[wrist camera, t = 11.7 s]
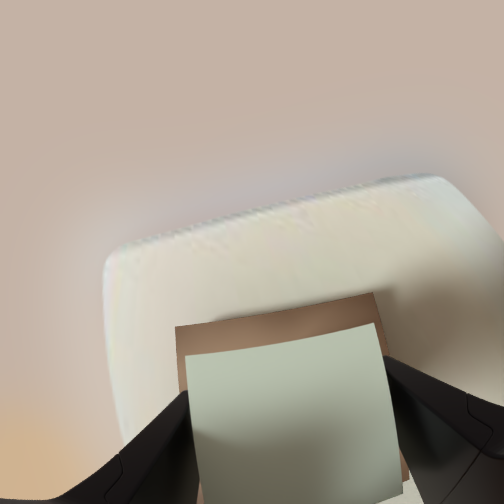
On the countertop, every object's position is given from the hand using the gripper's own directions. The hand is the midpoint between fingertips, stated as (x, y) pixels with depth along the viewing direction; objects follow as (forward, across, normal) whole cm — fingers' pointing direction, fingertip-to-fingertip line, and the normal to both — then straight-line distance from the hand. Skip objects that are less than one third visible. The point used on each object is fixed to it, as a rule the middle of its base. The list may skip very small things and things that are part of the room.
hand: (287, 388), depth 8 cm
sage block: (+5, 0, +7) cm, 8 cm away
